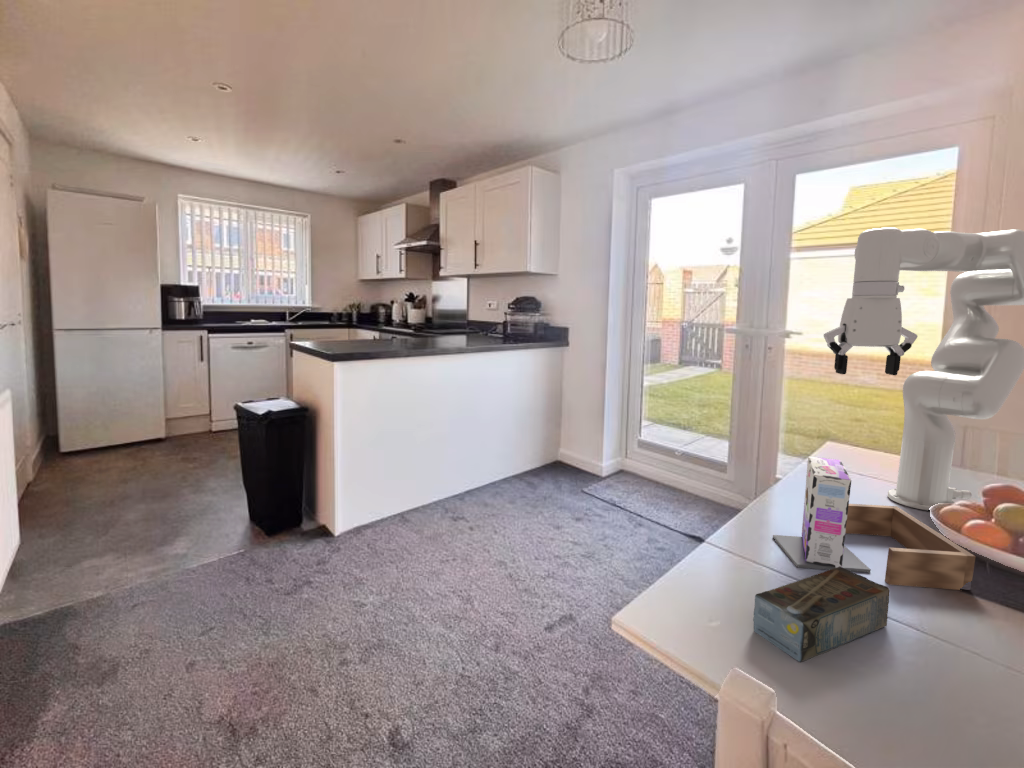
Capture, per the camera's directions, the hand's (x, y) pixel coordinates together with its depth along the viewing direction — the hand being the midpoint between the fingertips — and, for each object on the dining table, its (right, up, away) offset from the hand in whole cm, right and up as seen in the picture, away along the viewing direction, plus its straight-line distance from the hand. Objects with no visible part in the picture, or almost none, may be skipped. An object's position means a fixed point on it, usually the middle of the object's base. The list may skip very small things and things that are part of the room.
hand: (865, 374), depth 106 cm
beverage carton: (-30, -38, -33) cm, 59 cm away
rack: (-4, -34, -12) cm, 37 cm away
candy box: (-16, -34, -11) cm, 39 cm away
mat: (-17, -34, -11) cm, 40 cm away
